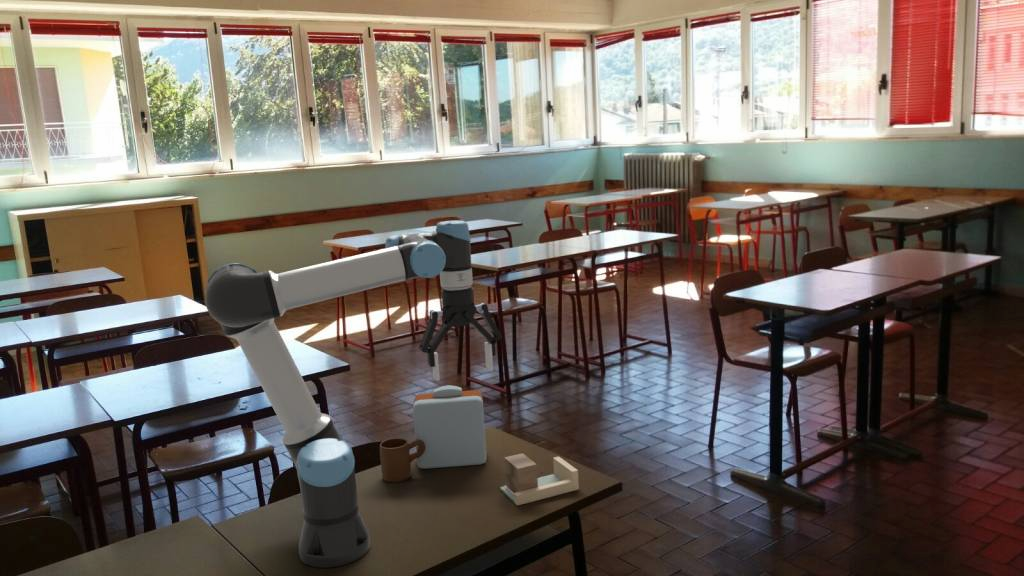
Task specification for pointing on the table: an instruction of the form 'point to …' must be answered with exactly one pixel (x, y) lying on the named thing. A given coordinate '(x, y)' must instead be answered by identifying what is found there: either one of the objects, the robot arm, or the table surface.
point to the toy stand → (548, 484)
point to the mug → (398, 458)
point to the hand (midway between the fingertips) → (463, 374)
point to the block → (520, 473)
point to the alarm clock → (450, 427)
